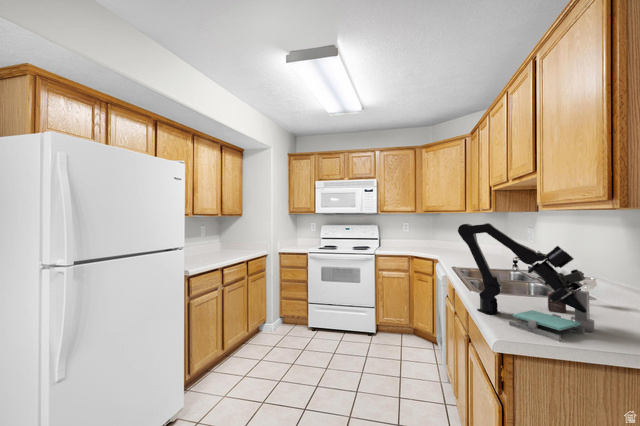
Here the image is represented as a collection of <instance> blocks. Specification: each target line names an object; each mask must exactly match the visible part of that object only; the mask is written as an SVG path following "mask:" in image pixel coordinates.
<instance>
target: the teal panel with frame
mask: <svg viewBox="0 0 640 426" xmlns="http://www.w3.org/2000/svg"><path fill="white" fill-rule="evenodd" d="M551 315H553V316H557V317H560V318H562V316H561V315H558V314H554V313H552V314H551ZM508 325H509V326H512V327H515V328H518V329H521V330H523V331H526V332H530V333H533V334H536V335H538V336H542V337H546V338H548V339H551V340H554V341H558V342H561V340H562V335H561V334H558V333H554V332H552V331H549V330H546V329H541V328H539V327H538V326H539V324H538V321H534V320H531V319H530V320H529V321H528V324H526V323H524V322H520V321H516V320H514V319H509V320H508ZM565 330H567V331H571V332H572V333H573V332H574V333H576V334H581V335H584V334H585V332H584V328H580V327H577V326H575V327H571V328H567V329H565Z"/></svg>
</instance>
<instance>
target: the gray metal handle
mask: <svg viewBox="0 0 640 426" xmlns="http://www.w3.org/2000/svg"><path fill="white" fill-rule="evenodd" d="M575 297H576V298H577V300H578V301H579V302H580V303H581V304H582V306H583V307H584V308H585V309H586V311H587V312H585V313H583V312H581V311H579V310H577V309H575V308H574V316H570V320H572V321H576V322H579V323H580V325H579V326H577V327H580V328H584V333H594V332H595V320H594V319H591V318H590V306H589V303H590V292H589V291H588V292H586V290H581V291H580V290H578V289H577V291H575Z"/></svg>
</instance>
